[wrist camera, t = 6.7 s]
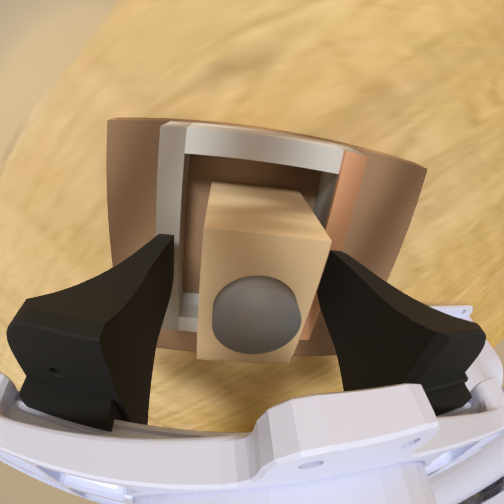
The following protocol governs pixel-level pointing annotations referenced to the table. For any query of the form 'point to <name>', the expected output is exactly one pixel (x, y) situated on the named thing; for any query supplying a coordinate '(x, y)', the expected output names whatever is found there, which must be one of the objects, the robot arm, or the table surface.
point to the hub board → (258, 173)
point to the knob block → (257, 272)
